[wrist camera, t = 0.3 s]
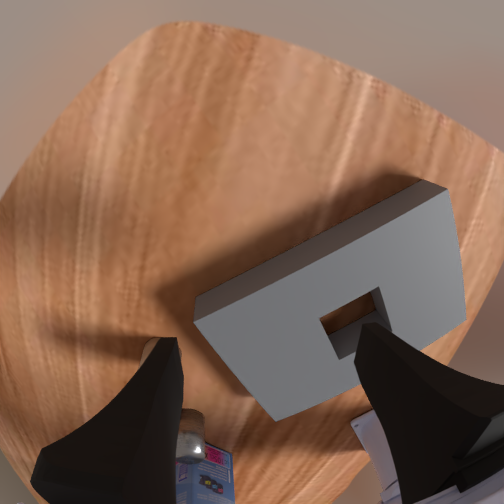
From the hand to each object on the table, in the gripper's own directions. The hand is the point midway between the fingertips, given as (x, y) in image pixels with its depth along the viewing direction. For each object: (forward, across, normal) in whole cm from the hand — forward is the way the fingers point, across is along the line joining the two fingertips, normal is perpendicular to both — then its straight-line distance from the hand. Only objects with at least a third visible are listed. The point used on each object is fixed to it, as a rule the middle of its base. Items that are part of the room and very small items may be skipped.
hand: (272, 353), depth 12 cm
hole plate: (+10, -7, +4) cm, 13 cm away
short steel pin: (+10, +6, +16) cm, 20 cm away
